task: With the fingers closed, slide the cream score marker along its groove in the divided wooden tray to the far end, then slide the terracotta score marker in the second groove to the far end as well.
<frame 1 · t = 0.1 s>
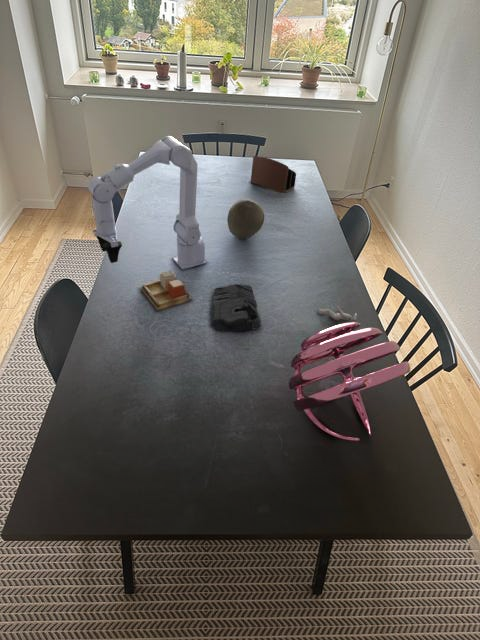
hand: (109, 256, 146), 10 cm above the table, tool pointing down, fingers open, 7 cm apart
cream marker: (168, 279, 150), point 3 cm above the table, slide at 0.0 cm
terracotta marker: (176, 289, 146), point 3 cm above the table, slide at 0.0 cm
divided wooden tray: (165, 294, 149), on the table
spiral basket: (334, 409, 116), on the table
cast iron trivet: (235, 310, 145), on the table
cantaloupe: (244, 236, 182), on the table
letter holder: (272, 185, 223), on the table
soldier figure: (335, 319, 145), on the table
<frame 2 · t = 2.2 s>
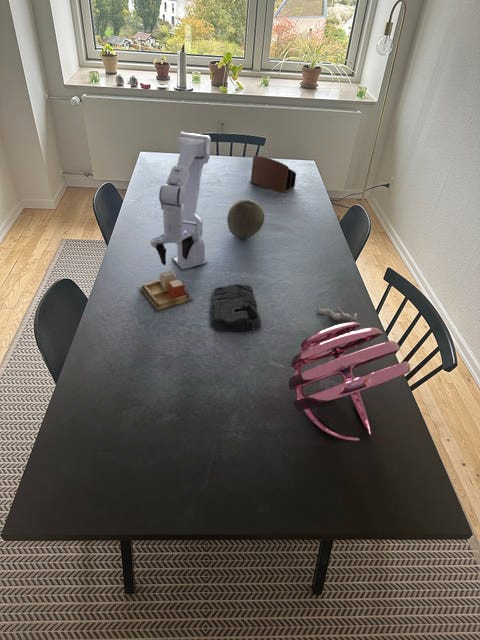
hand: (174, 260, 148), 9 cm above the table, tool pointing down, fingers open, 7 cm apart
nothing on the table moved.
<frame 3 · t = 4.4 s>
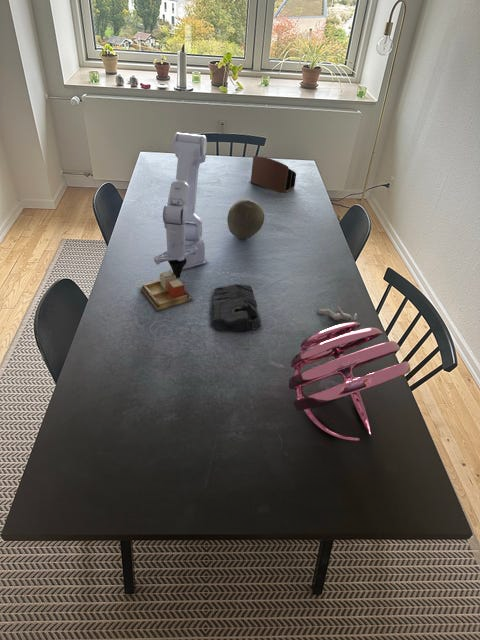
hand: (176, 276, 151), 4 cm above the table, tool pointing down, fingers closed
cream marker: (168, 279, 150), point 3 cm above the table, slide at 0.0 cm, touching gripper
everything else where it was.
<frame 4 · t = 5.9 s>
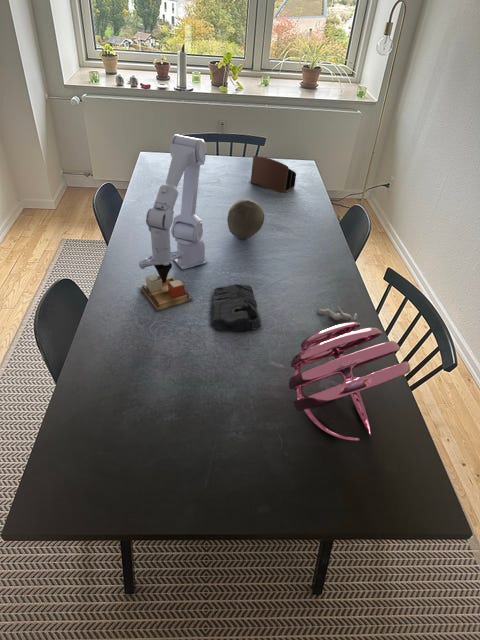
hand: (163, 281, 149), 3 cm above the table, tool pointing down, fingers closed
cream marker: (154, 283, 148), point 3 cm above the table, slide at 5.0 cm, touching gripper
everything else where it was.
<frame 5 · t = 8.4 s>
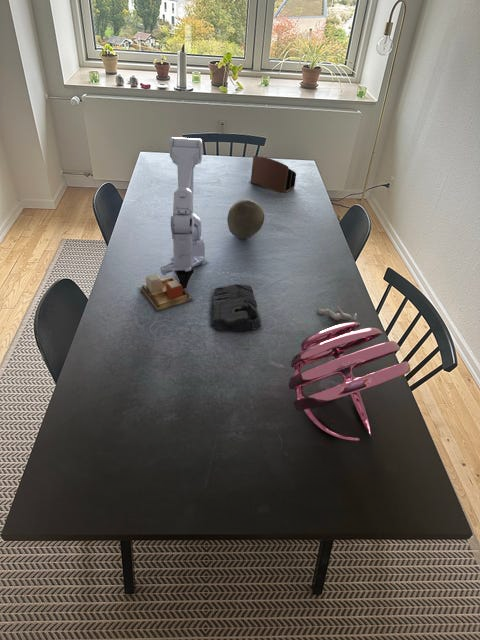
hand: (183, 287, 147), 3 cm above the table, tool pointing down, fingers closed
cream marker: (154, 283, 148), point 3 cm above the table, slide at 5.0 cm
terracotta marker: (174, 289, 146), point 3 cm above the table, slide at 0.6 cm, touching gripper
everything else where it was.
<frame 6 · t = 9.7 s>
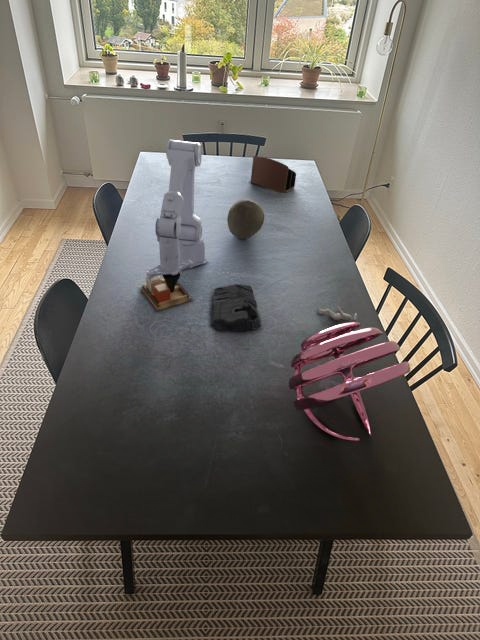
hand: (170, 290, 145), 3 cm above the table, tool pointing down, fingers closed
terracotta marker: (161, 293, 144), point 3 cm above the table, slide at 5.0 cm, touching gripper
everything else where it was.
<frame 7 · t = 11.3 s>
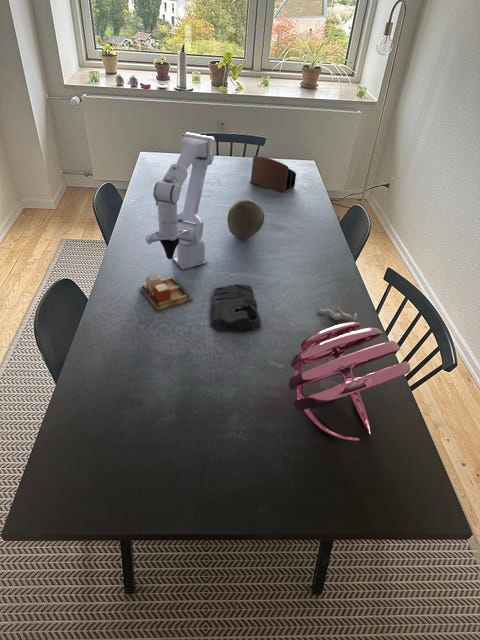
hand: (169, 257, 148), 10 cm above the table, tool pointing down, fingers closed
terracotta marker: (161, 293, 144), point 3 cm above the table, slide at 5.0 cm
everything else where it was.
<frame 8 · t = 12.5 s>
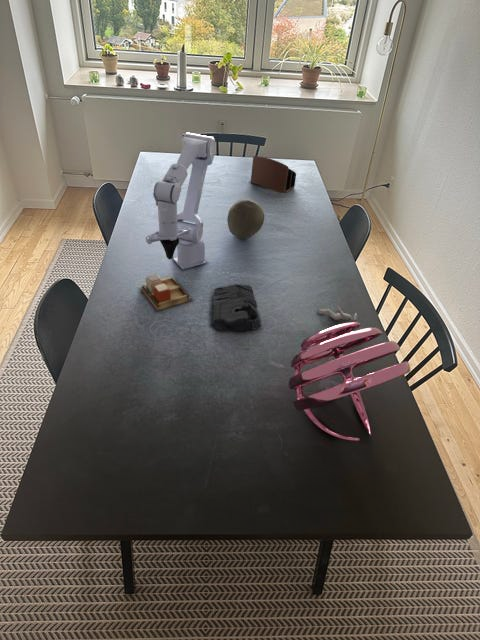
hand: (169, 257, 148), 10 cm above the table, tool pointing down, fingers closed
nothing on the table moved.
at the end: cream marker slide at 5.0 cm; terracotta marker slide at 5.0 cm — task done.
